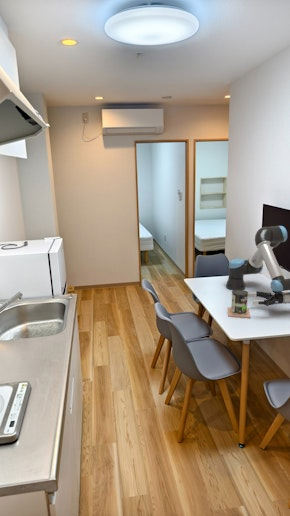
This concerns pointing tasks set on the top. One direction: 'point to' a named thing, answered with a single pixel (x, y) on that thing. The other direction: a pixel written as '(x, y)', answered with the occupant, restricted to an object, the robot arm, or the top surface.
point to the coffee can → (239, 302)
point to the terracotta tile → (238, 315)
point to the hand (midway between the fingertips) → (249, 298)
